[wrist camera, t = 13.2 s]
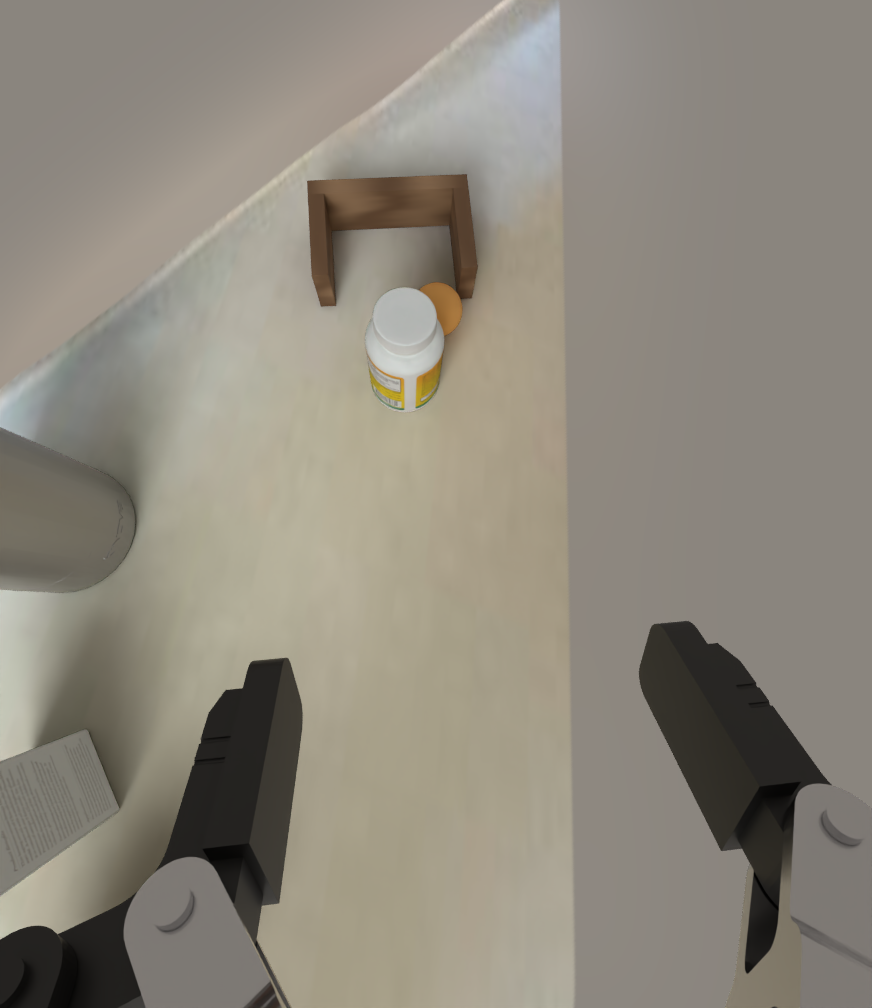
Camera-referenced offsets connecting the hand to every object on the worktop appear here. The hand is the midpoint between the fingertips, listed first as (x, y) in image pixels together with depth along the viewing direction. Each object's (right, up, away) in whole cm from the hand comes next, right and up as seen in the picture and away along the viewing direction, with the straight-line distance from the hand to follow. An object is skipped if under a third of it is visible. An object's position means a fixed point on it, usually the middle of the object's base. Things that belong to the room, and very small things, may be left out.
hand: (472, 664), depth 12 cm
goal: (-4, +24, +32) cm, 40 cm away
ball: (-1, +19, +29) cm, 34 cm away
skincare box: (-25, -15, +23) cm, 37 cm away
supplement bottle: (-3, +13, +30) cm, 33 cm away
